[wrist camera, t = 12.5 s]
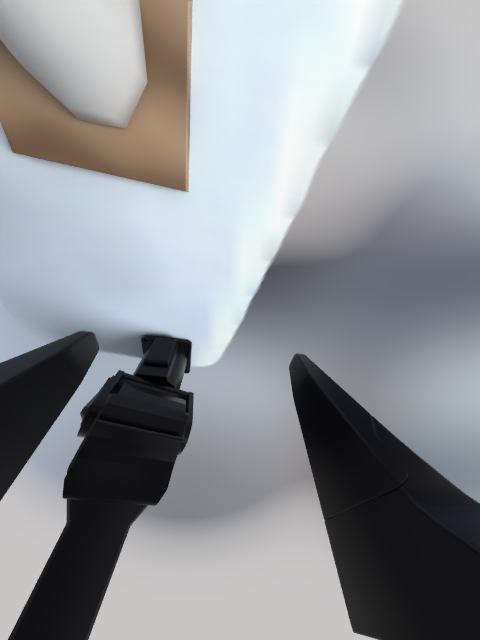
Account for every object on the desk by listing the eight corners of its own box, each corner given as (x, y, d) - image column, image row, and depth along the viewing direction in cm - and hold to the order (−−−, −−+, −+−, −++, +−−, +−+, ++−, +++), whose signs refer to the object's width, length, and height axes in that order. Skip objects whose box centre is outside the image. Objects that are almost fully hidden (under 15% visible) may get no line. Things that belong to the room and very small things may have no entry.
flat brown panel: (190, 192, 16) (185, 191, 14) (38, 157, 14) (12, 152, 13) (197, -87, 9) (189, -148, 8) (-86, -210, 8) (-172, -321, 6)
